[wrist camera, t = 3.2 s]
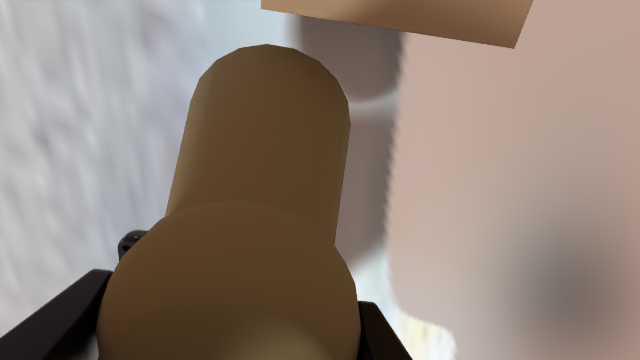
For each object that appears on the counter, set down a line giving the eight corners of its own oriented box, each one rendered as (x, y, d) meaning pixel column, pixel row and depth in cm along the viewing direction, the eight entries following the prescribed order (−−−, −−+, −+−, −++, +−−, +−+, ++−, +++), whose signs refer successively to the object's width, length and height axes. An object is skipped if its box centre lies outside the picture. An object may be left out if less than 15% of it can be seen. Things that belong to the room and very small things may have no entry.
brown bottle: (229, 204, 19) (150, 501, 10) (160, 73, 16) (-50, 331, 7) (367, 168, 18) (422, 458, 9) (323, 20, 15) (340, 237, 6)
